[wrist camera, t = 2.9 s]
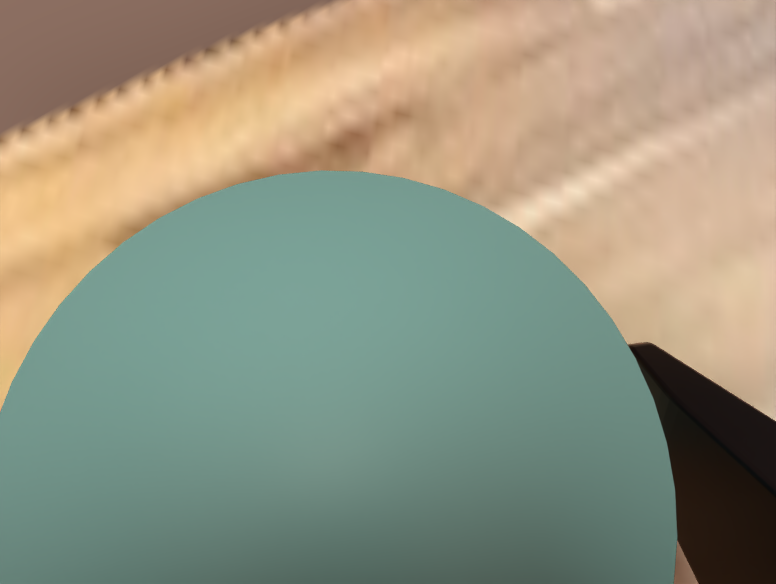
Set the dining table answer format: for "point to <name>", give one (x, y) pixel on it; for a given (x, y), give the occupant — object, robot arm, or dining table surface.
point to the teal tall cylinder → (333, 405)
